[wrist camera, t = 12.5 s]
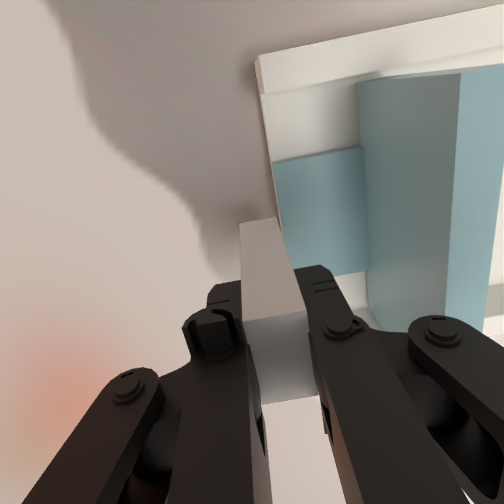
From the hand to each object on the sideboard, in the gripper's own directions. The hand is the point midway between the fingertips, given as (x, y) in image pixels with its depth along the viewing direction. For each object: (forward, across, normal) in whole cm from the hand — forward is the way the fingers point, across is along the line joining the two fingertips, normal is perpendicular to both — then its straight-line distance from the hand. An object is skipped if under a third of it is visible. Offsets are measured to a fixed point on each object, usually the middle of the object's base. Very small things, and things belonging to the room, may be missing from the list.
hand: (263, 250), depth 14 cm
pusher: (+2, +4, 0) cm, 4 cm away
